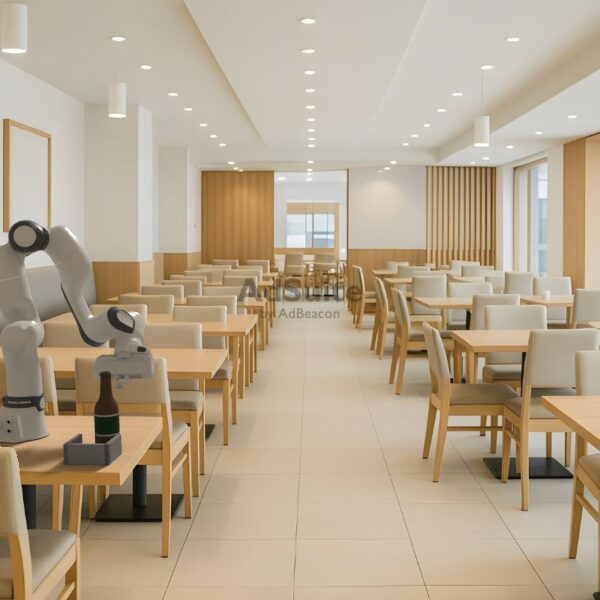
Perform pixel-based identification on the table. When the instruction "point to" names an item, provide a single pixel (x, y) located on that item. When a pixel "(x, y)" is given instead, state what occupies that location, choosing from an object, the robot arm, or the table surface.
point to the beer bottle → (106, 412)
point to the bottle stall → (91, 451)
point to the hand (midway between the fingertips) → (119, 388)
